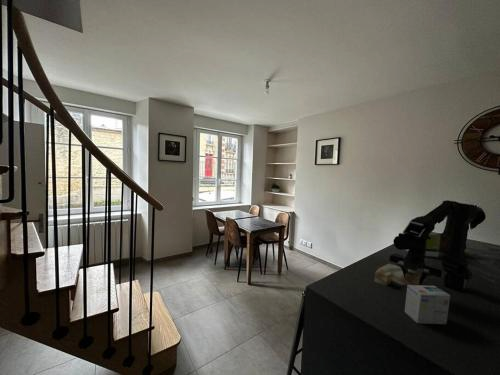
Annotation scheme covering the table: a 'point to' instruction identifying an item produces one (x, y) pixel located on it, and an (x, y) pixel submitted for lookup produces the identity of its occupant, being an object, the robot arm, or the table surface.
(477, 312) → the table surface
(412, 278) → the walnut block
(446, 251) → the glass bottle
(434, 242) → the tea box
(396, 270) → the plinth
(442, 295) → the light bulb box
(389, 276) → the oak block
